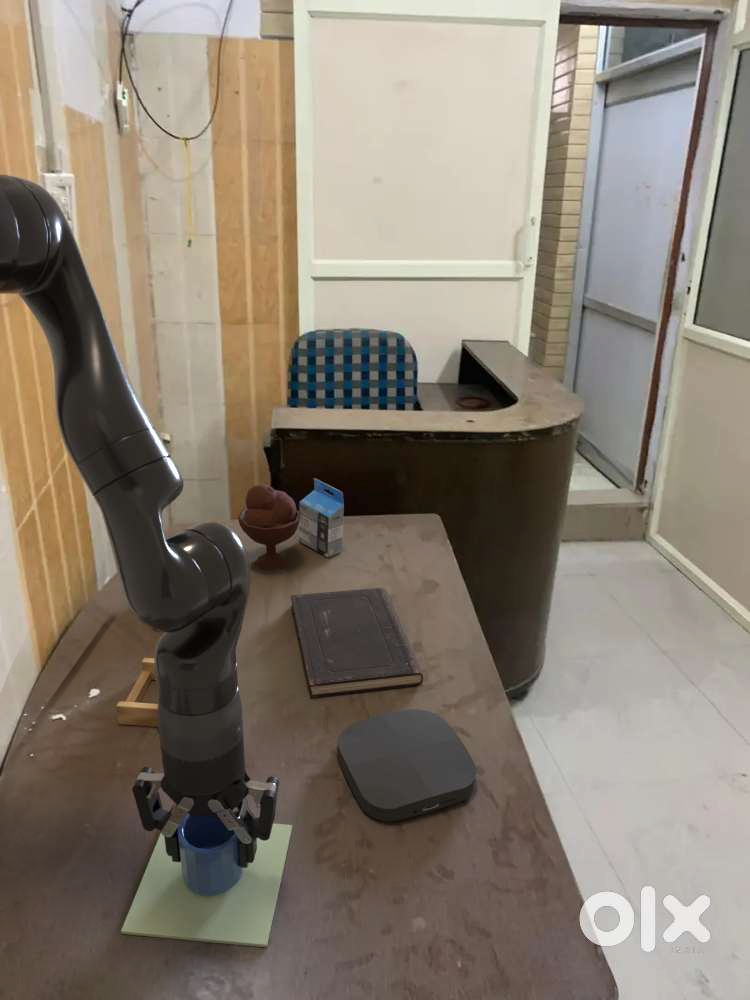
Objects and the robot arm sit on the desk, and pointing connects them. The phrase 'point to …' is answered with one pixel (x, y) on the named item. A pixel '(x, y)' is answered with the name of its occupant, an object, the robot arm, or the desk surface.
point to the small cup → (208, 855)
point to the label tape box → (322, 520)
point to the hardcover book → (352, 643)
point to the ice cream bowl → (269, 522)
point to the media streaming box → (405, 764)
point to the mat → (210, 899)
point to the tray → (132, 708)
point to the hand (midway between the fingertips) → (212, 857)
